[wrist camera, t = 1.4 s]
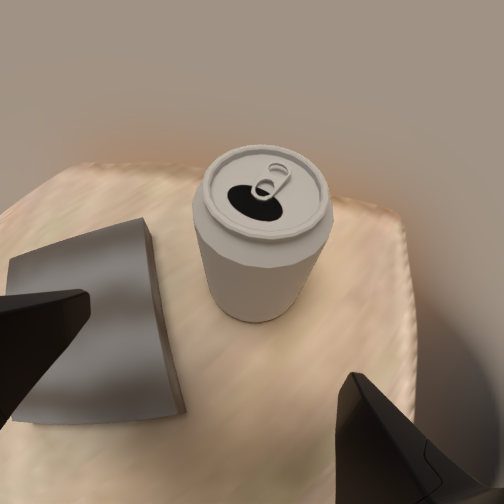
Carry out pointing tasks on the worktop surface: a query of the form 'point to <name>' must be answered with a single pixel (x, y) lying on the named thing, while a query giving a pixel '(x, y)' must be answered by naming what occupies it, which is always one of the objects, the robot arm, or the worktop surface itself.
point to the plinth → (103, 331)
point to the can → (260, 228)
